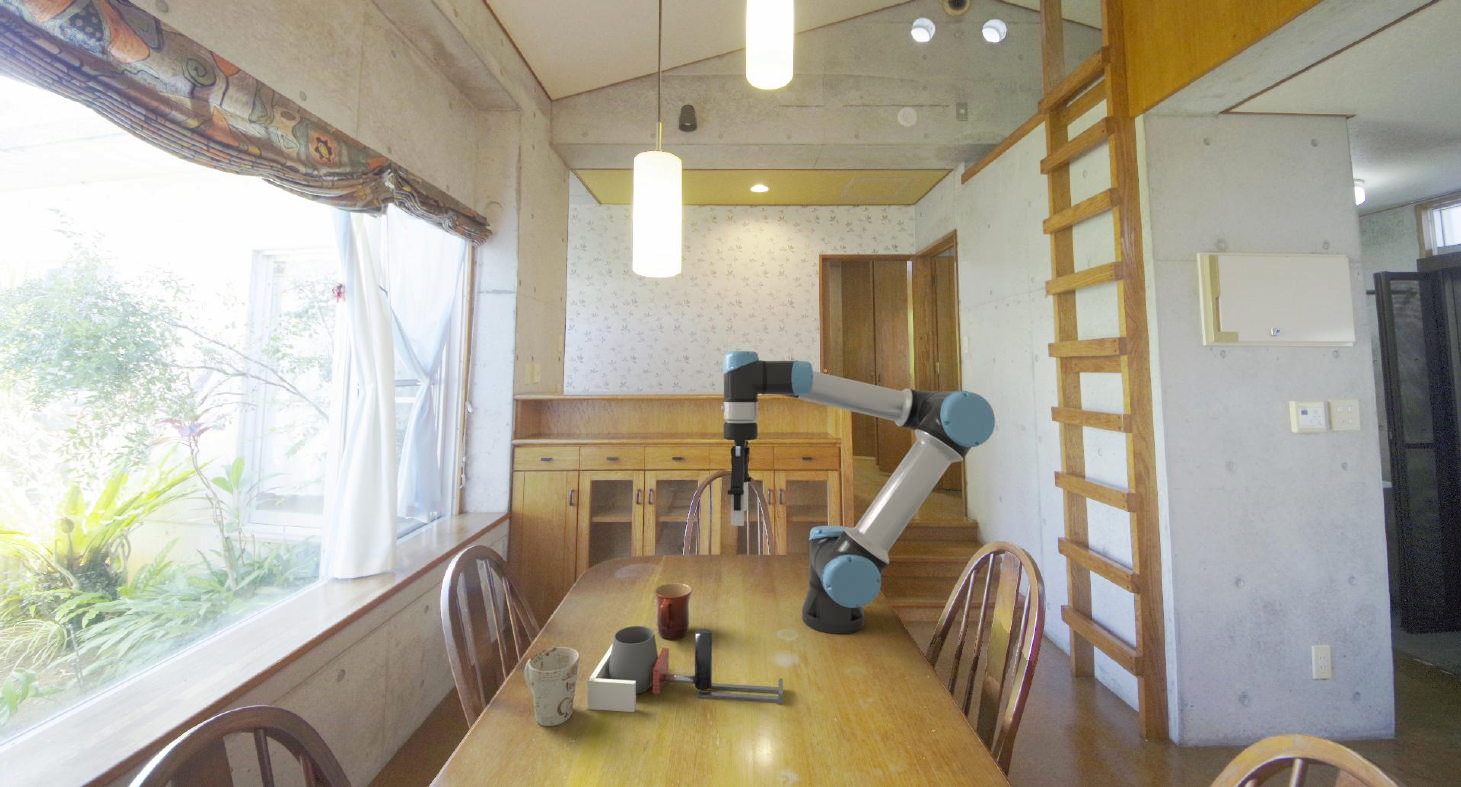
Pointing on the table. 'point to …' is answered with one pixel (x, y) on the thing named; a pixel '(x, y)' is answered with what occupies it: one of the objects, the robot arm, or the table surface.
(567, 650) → the mug
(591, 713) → the table surface
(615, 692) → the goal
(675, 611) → the mug
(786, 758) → the table surface
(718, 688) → the rails
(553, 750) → the table surface
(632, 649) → the cup
